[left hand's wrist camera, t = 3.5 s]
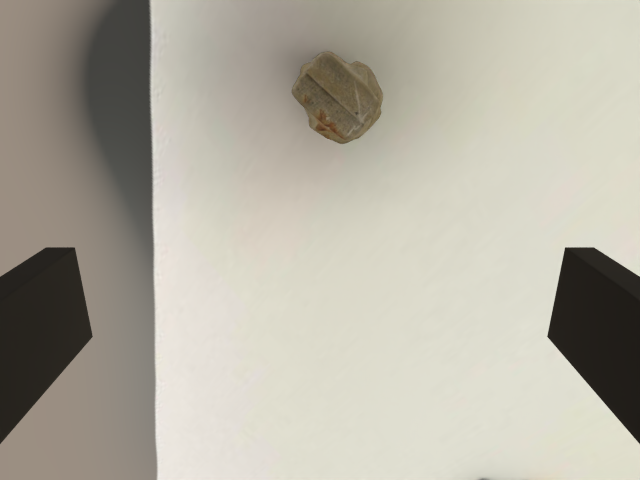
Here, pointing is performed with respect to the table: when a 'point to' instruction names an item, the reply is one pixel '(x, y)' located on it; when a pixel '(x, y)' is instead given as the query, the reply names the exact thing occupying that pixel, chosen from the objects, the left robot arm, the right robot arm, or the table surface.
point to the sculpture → (338, 97)
